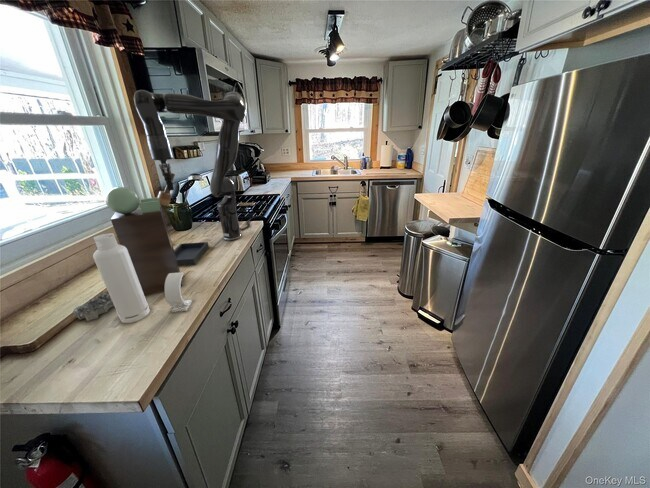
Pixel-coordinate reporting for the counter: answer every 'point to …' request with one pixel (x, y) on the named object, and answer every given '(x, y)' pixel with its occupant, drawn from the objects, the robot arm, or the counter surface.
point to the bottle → (120, 278)
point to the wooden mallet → (165, 195)
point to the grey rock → (94, 307)
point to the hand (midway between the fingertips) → (171, 189)
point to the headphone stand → (175, 292)
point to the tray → (190, 253)
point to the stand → (147, 247)
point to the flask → (130, 201)
